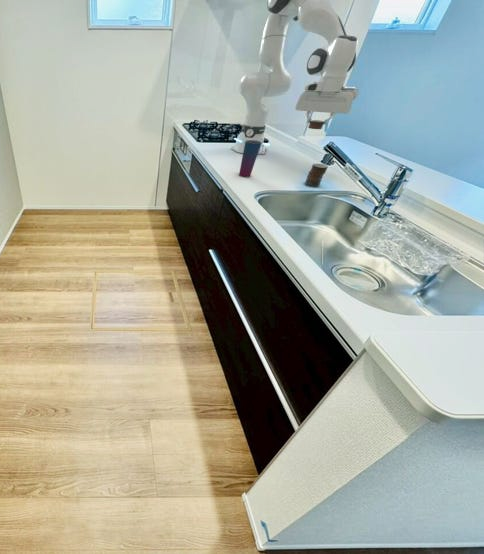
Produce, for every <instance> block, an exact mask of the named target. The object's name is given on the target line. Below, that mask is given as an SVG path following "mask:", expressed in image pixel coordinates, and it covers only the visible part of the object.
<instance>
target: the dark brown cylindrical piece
mask: <svg viewBox="0 0 484 554" xmlns="http://www.w3.org/2000/svg"><path fill="white" fill-rule="evenodd" d="M328 168H329V166H328V165H326V164H323V163H313V164H312V165H311V168H310V170H308V173H307V175H306V179H305V182H304V185H305V186H307V187H311V188H319V187H320V185H321V183H322V180H323V177H324V175H325V174H326V172H327V171H328V170H327V169H328Z"/></svg>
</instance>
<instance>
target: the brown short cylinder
mask: <svg viewBox="0 0 484 554" xmlns="http://www.w3.org/2000/svg"><path fill="white" fill-rule="evenodd" d="M324 121H325V120H318V119H312V120H311V121H310V123H308V124H309V125H308V129H311V130H322V129H323V126H324V125H323V123H324Z"/></svg>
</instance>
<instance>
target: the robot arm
mask: <svg viewBox="0 0 484 554" xmlns="http://www.w3.org/2000/svg"><path fill="white" fill-rule="evenodd" d="M266 5H267V10H268V12H270V13H269V15H268V16H267V19H266V22H265V24H264V27H263V31H262V35H261V42H260V46H259V53H258V60H259V62H260V63H261V64H263V65H264V66H265V68H266V71H253V72H252V71H251V72H249V73H245V74H244V75H243V76H242V77H241V79H240V81H239V85H238V90H239V93H240V94H241V96H242V97H243V99H244V101H245V103H246V114H245V118H244V123H243V124H242V127H241V132H240V133H238V135H237V137H234V140H235V144H234V146H232V147H231V150H233V151H234V152H236V153H239V154H243V151H244V146H245V141H246V140H256V141H260V142H262V143H261V146H260V149H259V152H258V155H264V154H265V152H266V149H267V147H266V146H269V147H270V143H266V142H264V141H265V131H266V123H267V120H268V117H269V111H270V110H269V108H268V106H267V105H266V104H264V103H263V102H262V98H263V97H265V98H266V97H268V98H272V97H273V98H275V97H280V96H284V95H286V94H287V93H288V92H289V90H290V89H291V86H292V83H293V82H292V81H293V79H292V75H291V74H290V73H289V72H288V70H287V69H286V67H285V62H284V51H285V45H286V40H287V34H288V28H289V25H290V23H291V22H292V20H293V21H294V22H297V21H298V24H299V25H300V27H301V29H302V30H304V31H305V32H309V33H313V34H316V35H319V36H321V37H323V38H324V39H325V40H326V41H327V45H324V46H322V47H319V48H316V49H315V50H314V51H313V52H311V54H310V56H309V57H308V60H307V62H306V72H307V74H308V75H309V76H314V77H319V76H320V78H319V81H314V82H310V83H308V84H306V85H305V86H304V91H303V92H301V94H300V95H299V98H298V100H297V102H296V104H295V106H294V107H295V110H296V111H299V112H306V122H305V124H310V121H311V120H313V119H312V118H311V116H310V115H311V114H312V112H313V113H314V112H315V113H328V114H329V117H328V118H327V119H324V120H323V121H324V123H323V126H324V125H325V126H327V125H328V124H329V121H330V120H331V119H332V118H333V117H334V115H335V114H343V115H346V114H348V113H350V111H351V109H352V106H353V104H354V101H355V100H356V99H357V97H358V95H359V89H358V88H356V87H355V86H344V84H345V82H346V79H347V76H348V73H349V72H350V71H351V69H352V68H353V67H354V66H355V64H356V61H357V55H358V54H357V49H358V44H359V38H358V37H356V36H354V35H348V34H347V33H346V32H347V31H346V29H345V27H344V25H343V23H342V19H341V18H340V16H339V15H338V14H337V13H336V11H335V9H334V8H333V6H332V4H331V2H330V0H267V4H266Z"/></svg>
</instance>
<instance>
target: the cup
mask: <svg viewBox="0 0 484 554" xmlns="http://www.w3.org/2000/svg"><path fill="white" fill-rule="evenodd" d="M261 143H262V142H260V141H256V140H246V141H245V146H244V151H243V153H242V156H241V162H240V168H239V173H238V176H240V177H242V178H251V175H252V171H253V169H254V166H255V163H256V161H257V157H258V155H259V154H258V152H259V149H260V146H261Z"/></svg>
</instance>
